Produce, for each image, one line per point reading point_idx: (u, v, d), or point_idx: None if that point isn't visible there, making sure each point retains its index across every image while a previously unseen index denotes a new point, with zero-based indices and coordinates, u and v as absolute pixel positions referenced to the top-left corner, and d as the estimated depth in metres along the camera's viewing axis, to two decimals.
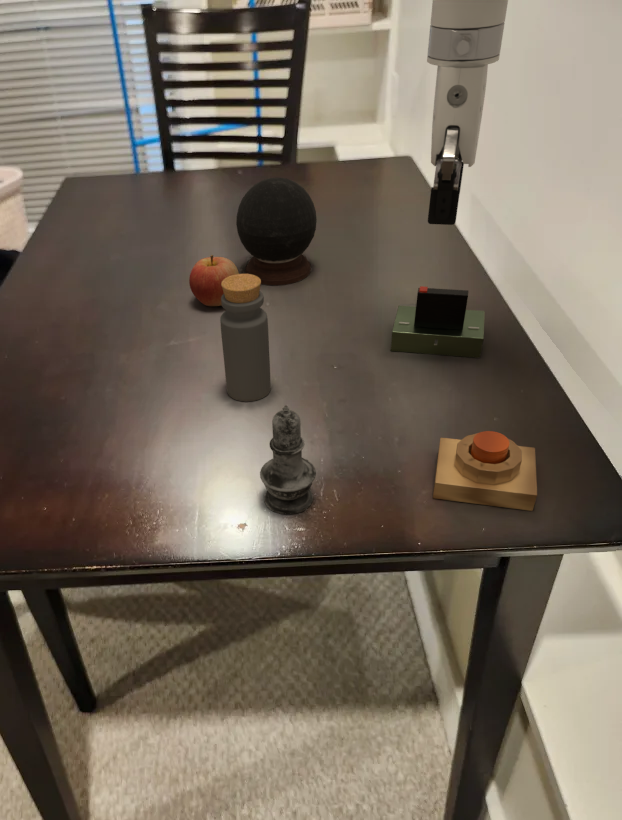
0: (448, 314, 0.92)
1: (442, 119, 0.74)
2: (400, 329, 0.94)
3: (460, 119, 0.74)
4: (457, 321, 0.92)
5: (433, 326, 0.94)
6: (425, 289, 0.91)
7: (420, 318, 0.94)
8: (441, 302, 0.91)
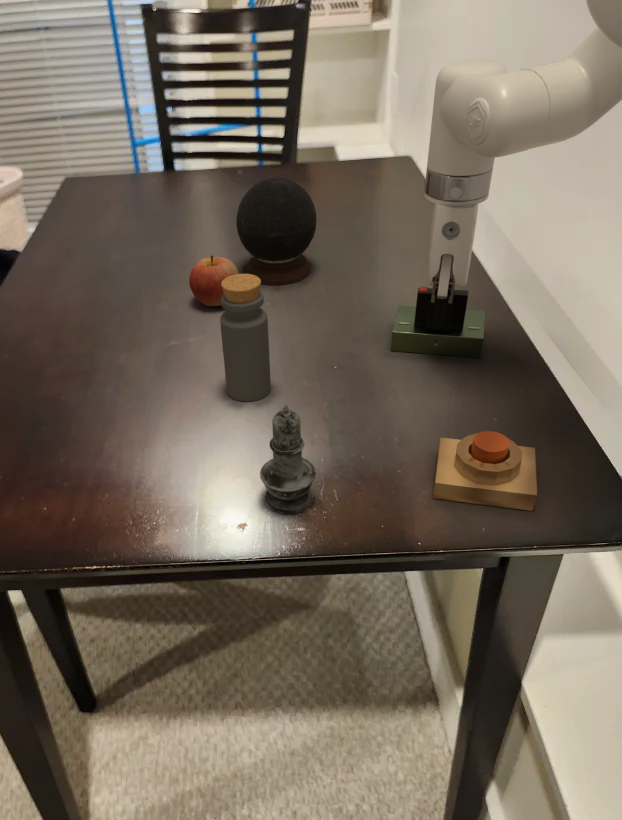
0: None
1: (437, 248, 0.83)
2: (400, 329, 0.94)
3: (452, 259, 0.83)
4: (457, 321, 0.92)
5: None
6: (425, 289, 0.91)
7: (420, 318, 0.94)
8: None
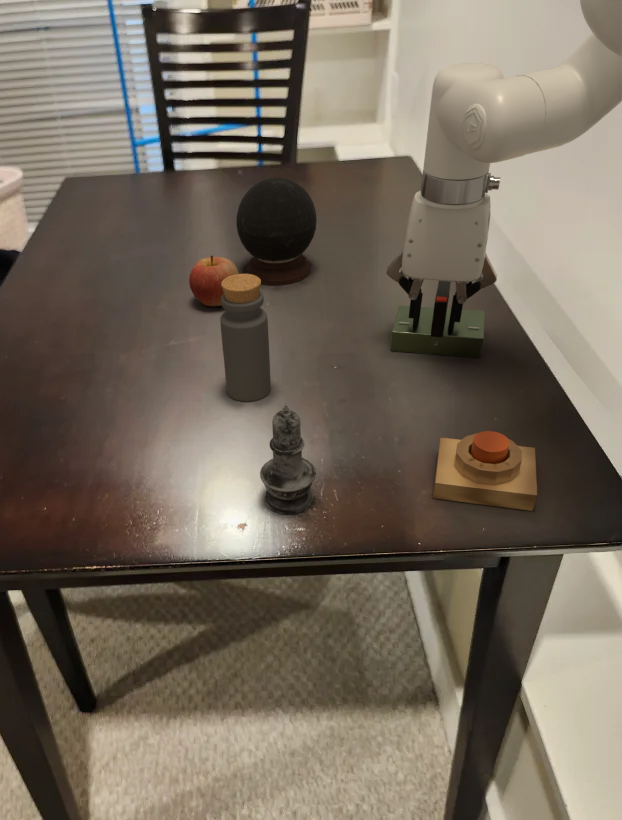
0: None
1: (486, 242, 0.84)
2: (400, 329, 0.94)
3: None
4: None
5: None
6: (443, 297, 0.89)
7: None
8: None
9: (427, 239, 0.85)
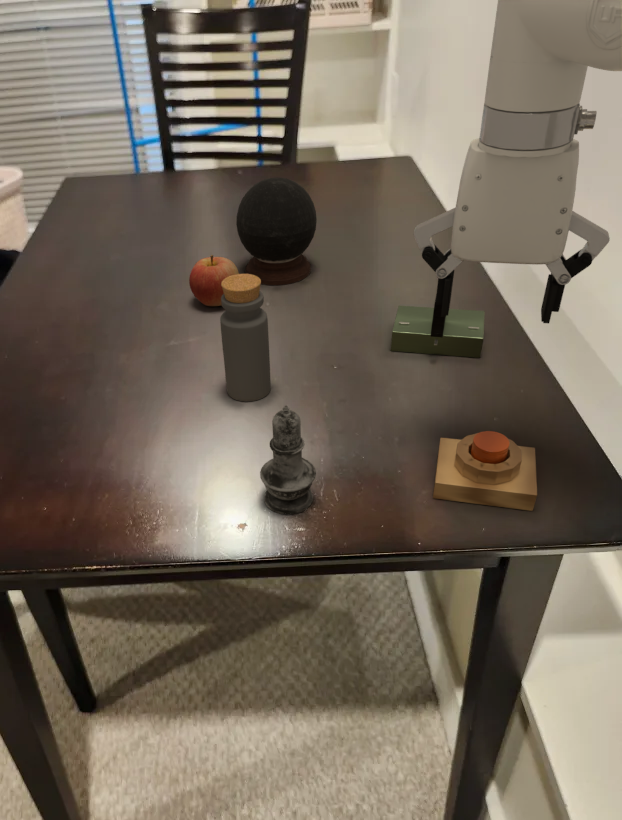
0: None
1: (572, 207, 0.60)
2: (400, 329, 0.94)
3: None
4: None
5: None
6: None
7: None
8: None
9: (488, 204, 0.61)
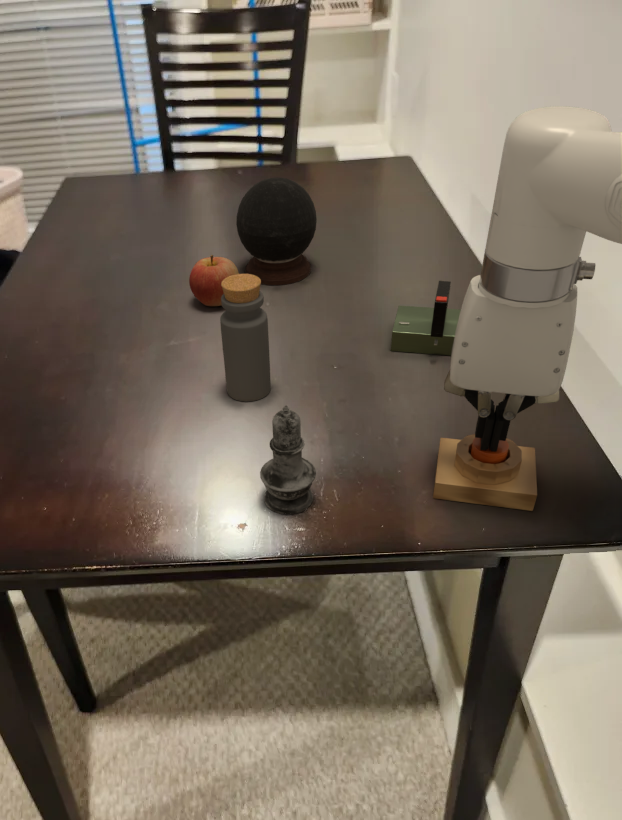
0: None
1: None
2: (400, 329, 0.94)
3: None
4: None
5: None
6: (443, 297, 0.89)
7: None
8: None
9: (488, 343, 0.62)
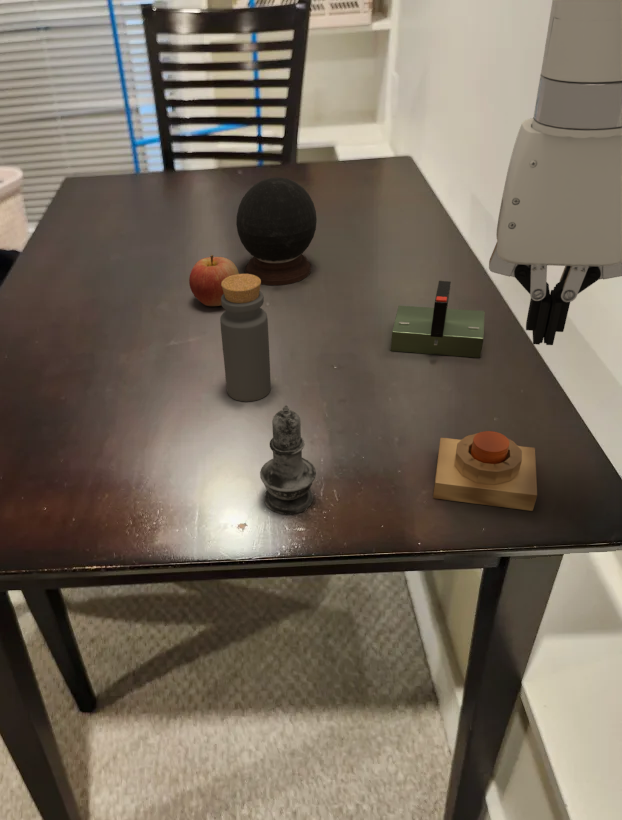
0: None
1: None
2: (400, 329, 0.94)
3: None
4: None
5: None
6: (443, 297, 0.89)
7: None
8: None
9: (545, 196, 0.51)
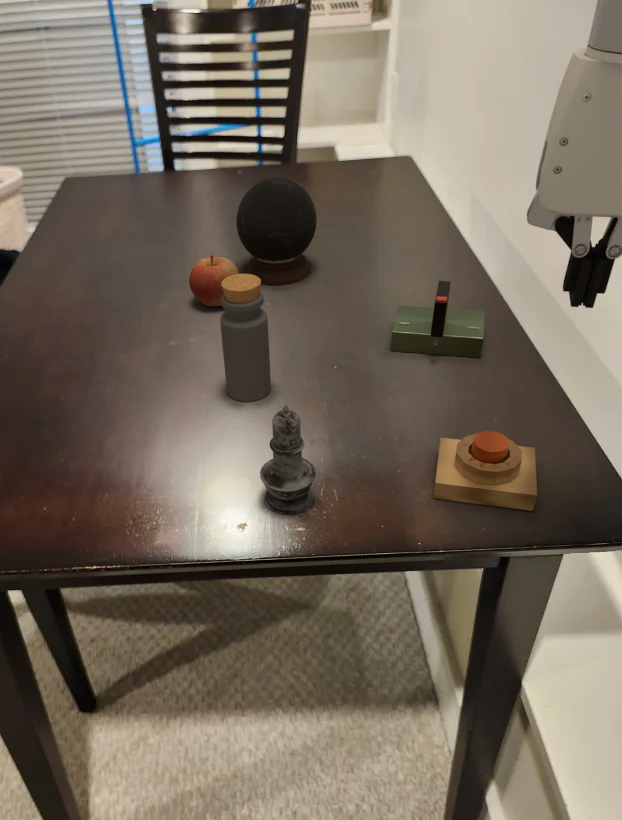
0: None
1: None
2: (400, 329, 0.94)
3: None
4: None
5: None
6: (443, 297, 0.89)
7: None
8: None
9: (597, 135, 0.46)
